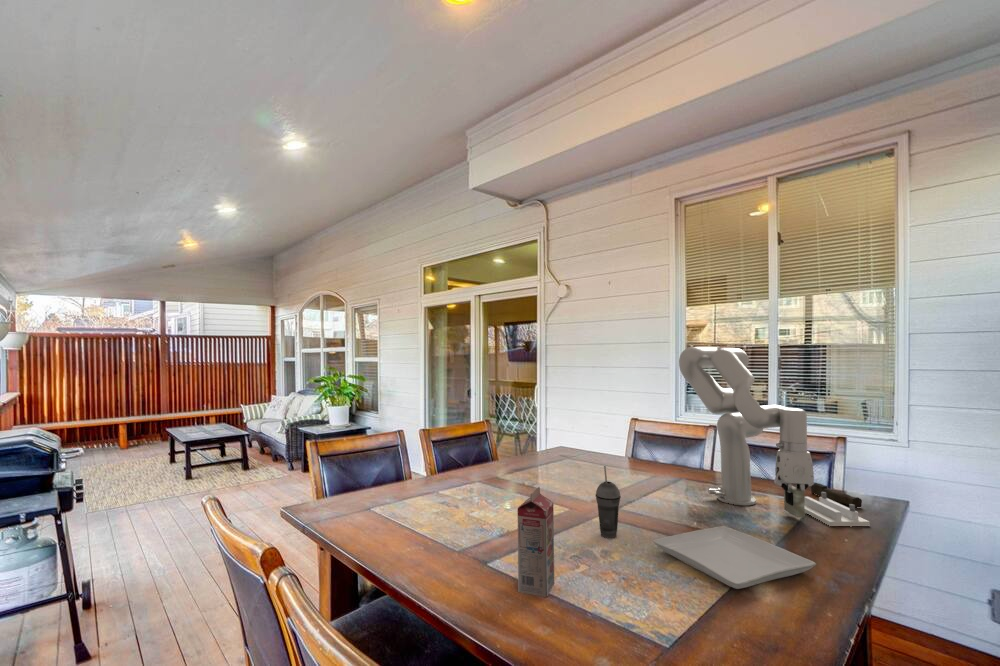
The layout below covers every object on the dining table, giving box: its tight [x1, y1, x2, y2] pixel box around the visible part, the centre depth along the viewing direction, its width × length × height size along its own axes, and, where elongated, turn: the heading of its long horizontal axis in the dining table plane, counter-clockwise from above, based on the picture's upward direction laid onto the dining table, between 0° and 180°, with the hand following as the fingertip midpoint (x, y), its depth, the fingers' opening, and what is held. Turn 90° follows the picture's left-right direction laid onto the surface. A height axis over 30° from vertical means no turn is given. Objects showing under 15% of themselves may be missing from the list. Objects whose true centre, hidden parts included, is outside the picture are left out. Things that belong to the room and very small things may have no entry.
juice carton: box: [517, 486, 555, 598], centre depth 109 cm, size 7×7×22 cm
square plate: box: [652, 525, 817, 590], centre depth 121 cm, size 27×27×4 cm
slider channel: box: [804, 492, 871, 528], centre depth 154 cm, size 12×18×6 cm, turn 179°
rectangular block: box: [783, 485, 806, 518], centre depth 153 cm, size 2×7×8 cm, turn 178°
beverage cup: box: [595, 465, 622, 540], centre depth 140 cm, size 7×7×20 cm
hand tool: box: [810, 482, 863, 508], centre depth 171 cm, size 19×4×5 cm, turn 9°
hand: (794, 503), depth 153 cm, fingers closed on rectangular block, 2 cm apart
